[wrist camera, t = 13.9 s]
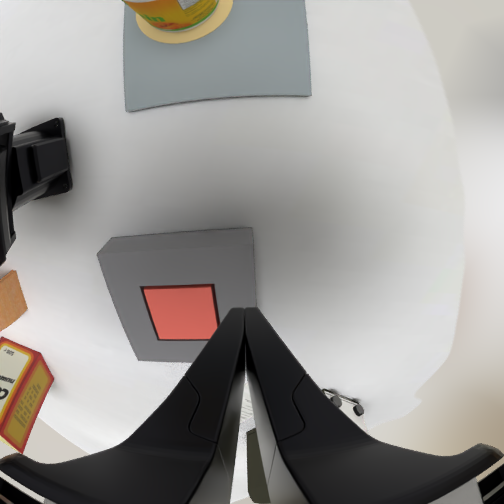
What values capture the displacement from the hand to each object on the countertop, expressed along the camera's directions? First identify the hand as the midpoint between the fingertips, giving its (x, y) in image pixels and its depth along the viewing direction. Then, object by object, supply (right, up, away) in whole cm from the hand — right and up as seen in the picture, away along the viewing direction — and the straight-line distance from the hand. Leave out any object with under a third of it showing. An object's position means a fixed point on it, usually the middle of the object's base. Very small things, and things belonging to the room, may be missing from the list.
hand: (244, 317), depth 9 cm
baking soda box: (-36, -15, +21) cm, 44 cm away
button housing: (-6, -2, +15) cm, 16 cm away
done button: (-5, -2, +14) cm, 16 cm away
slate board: (-3, +22, +3) cm, 22 cm away
